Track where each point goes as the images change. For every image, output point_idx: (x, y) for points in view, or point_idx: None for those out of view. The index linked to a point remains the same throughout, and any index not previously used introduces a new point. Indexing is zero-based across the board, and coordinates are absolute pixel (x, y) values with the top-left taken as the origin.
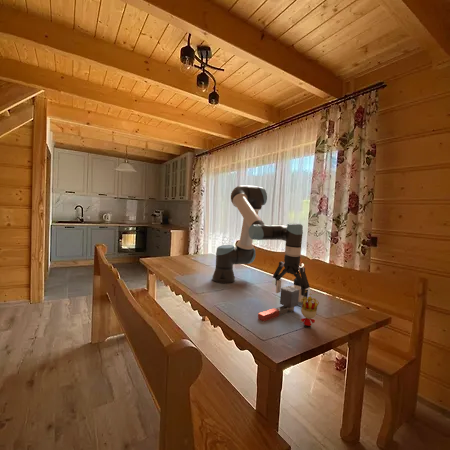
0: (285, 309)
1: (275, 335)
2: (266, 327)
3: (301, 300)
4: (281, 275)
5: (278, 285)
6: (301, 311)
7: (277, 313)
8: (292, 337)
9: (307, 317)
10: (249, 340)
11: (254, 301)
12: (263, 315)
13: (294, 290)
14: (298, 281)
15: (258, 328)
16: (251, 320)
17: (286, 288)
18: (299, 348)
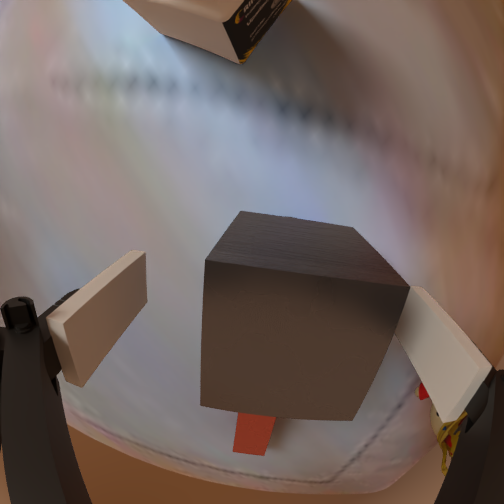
0: None
1: (347, 460)
2: (300, 452)
3: (445, 474)
4: (78, 471)
5: (109, 333)
6: (431, 425)
7: None
8: (395, 439)
9: None
10: (301, 493)
11: None
12: (262, 454)
13: (364, 370)
14: (450, 489)
15: (283, 464)
16: (229, 447)
17: (249, 379)
18: (418, 452)
